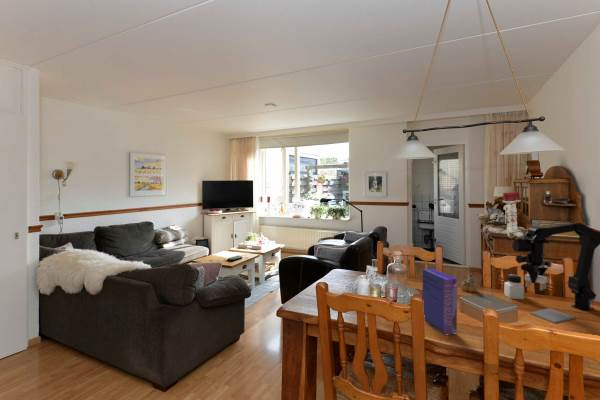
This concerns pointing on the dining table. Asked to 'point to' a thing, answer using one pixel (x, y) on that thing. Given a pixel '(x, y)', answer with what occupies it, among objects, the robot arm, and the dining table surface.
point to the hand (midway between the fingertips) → (535, 282)
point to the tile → (552, 315)
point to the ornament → (469, 285)
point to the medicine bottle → (514, 287)
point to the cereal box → (440, 300)
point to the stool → (540, 279)
